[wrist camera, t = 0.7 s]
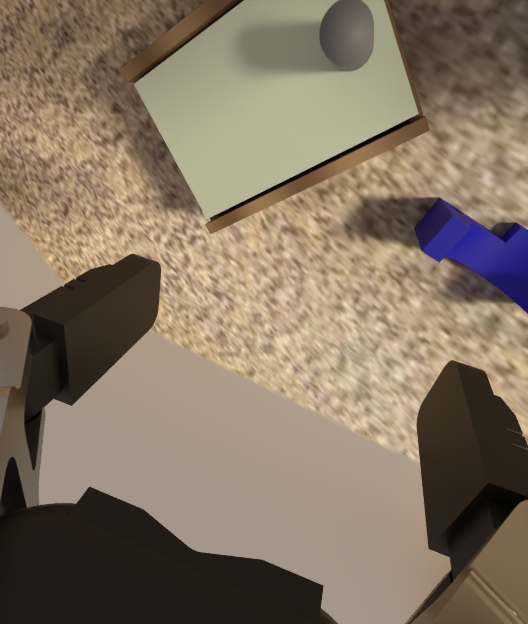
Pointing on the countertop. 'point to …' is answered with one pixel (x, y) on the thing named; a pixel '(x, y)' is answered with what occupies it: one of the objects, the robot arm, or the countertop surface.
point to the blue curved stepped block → (478, 248)
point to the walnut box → (194, 24)
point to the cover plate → (276, 93)
